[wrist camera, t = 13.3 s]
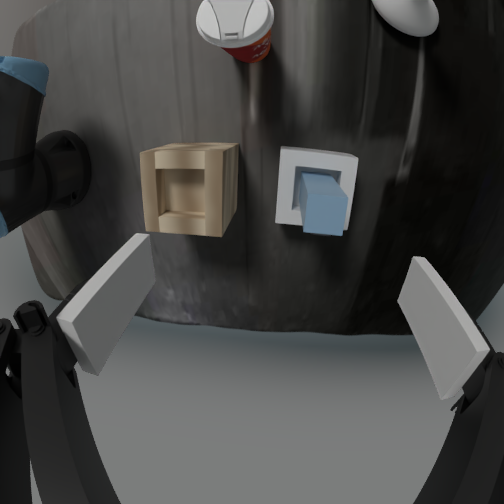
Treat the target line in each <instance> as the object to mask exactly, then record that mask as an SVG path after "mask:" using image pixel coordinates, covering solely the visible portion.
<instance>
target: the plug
mask: <svg viewBox="0 0 504 504" xmlns="http://www.w3.org/2000/svg"><path fill="white" fill-rule="evenodd" d="M299 204H300V211H301V218H302V225H303V232H308V233H312V235H322V236H331V235H338V236H342V234H343V228H344V223H345V217H346V211H347V205H348V197H347V195H346V194H345V193H344V191H343V190H342V189H341V187H340V186H339V185H338V184H337V182H336V181H335V180H334V178H333V177H332V176H331V175H330V174H324V173H316V172H307V171H301V181H300V191H299Z"/></svg>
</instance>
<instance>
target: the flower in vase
mask: <svg viewBox="0 0 504 504" xmlns="http://www.w3.org/2000/svg"><path fill="white" fill-rule="evenodd" d="M372 3H373V5H374V7H375V8H376V10H377V11H378V13H379V14H380V15H381V16H382V17H383V19H385V20H386V21H387V22H388V23H389V24H390V25H392V26H393V27H394V28H396V29H398V30H399V31H401V32H403V33H406V34H409V35H412V36H417V37H423V36H428V35H430V34H432V33H433V32H434V31H435V30H436V28H437V26H438V22H439V15H438V11H437V8H436V6H435V4H434V2H433V1H432V0H372Z"/></svg>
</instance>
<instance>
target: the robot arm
mask: <svg viewBox="0 0 504 504" xmlns="http://www.w3.org/2000/svg"><path fill="white" fill-rule="evenodd" d="M48 76H49V69H48V67H47V66H46V65H45V64H44V63H42V62H39V61H35V60H30V59H25V58H19V57H10V56H9V57H8V56H6V57H5V56H0V238H1V237H3V236H6V235H7V234H8V233H9V232H11V231H12V230H14V229H15V228H17V227H18V226H20V225H22V224H23V223H25V222H26V221H28V220H30V219H31V218H33V217H35V216H36V215H38V214H40V213H42V212H43V211H49V210H62V209H67V208H70V207H72V206H73V205H75V204H77V203H78V202H80V201H81V200H82V199H83V197H84V196H85V194H86V192H87V190H88V187H89V184H90V178H91V165H90V159H89V155H88V152H87V149H86V147H85V145H84V143H83V142H82V140H81V139H80V138H79V137H78V136H77V135H76V134H74V133H73V132H71V131H67V130H62V131H57V132H53V133H50V134H48V135H47V136H45V137H44V138H42V139H41V140H40V141H38V142H37V143H36V138H37V131H38V125H39V120H40V114H41V109H42V105H43V100H44V97H45V96H46V92H45V90H46V85H47V81H48ZM155 282H156V278H155V271H154V265H153V258H152V251H151V243H150V235H149V234H139V233H136V234H135V235H134V236H133V237H132V238H131V239H130V240H129V241H128V242H126V243H125V244H124V245H123V246H122V247H121V248H120V249H119V250H118V251H117V252H116V253H115V254H114V255H113V256H112V257H111V258H110V259H109V260H108V261H107V262H106V263H105V264H104V265H103V266H102V267H101V268H100V269H99V270H98V272H97V273H96V274H95V275H94V276H93V277H92V278H91V279H90V280H85V281H84V282H82V283H80V284H79V285H77V286H76V287H75V288H74V289H73V290H72V292H71V294H69V295H68V296H67V297H66V298H65V300H63V301H62V303H61V304H60V305H59V306H58V307H57V308H56V309H55V310H54V311H53V313H52V314H51V315H50V316H49V317H47V314H46V312H45V310H44V307H43V305H42V303H40V302H39V301H35V300H34V301H28V302H26V303H24V304H22V305H21V306H19V307H18V308H17V310H16V311H15V313H14V315H13V317H14V319H15V321H16V322H17V325H18V326H19V328H20V329H14V327H13V326H12V323H11V322H10V320H8V319H5V318H3V319H0V504H32V494H31V480H30V460H31V464H32V469H33V473H34V477H35V481H36V484H37V487H38V491H39V495H40V498H41V501H42V504H121V503H120V501H119V499H118V497H117V495H116V493H115V491H114V489H113V486H112V484H111V482H110V480H109V477H108V475H107V473H106V470H105V468H104V465H103V463H102V460H101V458H100V455H99V452H98V450H97V447H96V444H95V441H94V438H93V435H92V432H91V429H90V425H89V422H88V419H87V415H86V412H85V408H84V404H83V400H82V396H81V392H80V388H79V383H78V379H77V373H76V371H75V369H74V365H75V364H76V362H77V361H78V363H79V365H80V366H81V368H82V370H83V371H85V372H88V373H91V374H94V375H97V376H98V375H99V373H100V372H101V370H102V368H103V366H104V365H105V363H106V361H107V359H108V358H109V356H110V354H111V352H112V351H113V349H114V347H115V346H116V344H117V342H118V341H119V339H120V337H121V336H122V334H123V332H124V331H125V329H126V328H127V326H128V324H129V323H130V321H131V319H132V318H133V316H134V315H135V313H136V311H137V310H138V308H139V307H140V305H141V304H142V302H143V300H144V299H145V297H146V296H147V294H148V293H149V291H150V290H151V288H152V287H153V285H154V284H155ZM398 303H399V305H400V307H401V309H402V311H403V313H404V315H405V317H406V319H407V321H408V323H409V325H410V327H411V329H412V332H413V334H414V336H415V338H416V340H417V343H418V345H419V347H420V349H421V352H422V354H423V356H424V358H425V361H426V363H427V366H428V368H429V371H430V373H431V376H432V378H433V381H434V383H435V386H436V389H437V391H438V394H439V397H440V400H442V399H447V398H451V397H454V396H455V395H456V394H457V393H458V392H459V390H460V389H461V388H463V391H464V394H463V395H462V396H461V398H460V399H459V400H458V401H457V402H456V403H455V404H454V406H453V407H452V408H451V411H453V409H455V407H457V406H458V407H457V410H456V411H455V416H454V419H453V422H452V425H451V427H450V430H449V433H448V435H447V438H446V440H445V442H444V445H443V447H442V449H441V452H440V454H439V456H438V458H437V460H436V463H435V465H434V467H433V469H432V471H431V473H430V475H429V477H428V479H427V480H426V482H425V484H424V486H423V488H422V490H421V492H420V493H419V495H418V497H417V498H416V500H415V502H414V503H413V504H504V353H502V352H497V353H496V352H495V351H494V349H493V347H492V346H491V344H490V342H489V341H488V339H487V337H486V336H485V334H484V333H483V332H482V330H481V328H480V327H479V325H477V322H476V321H475V319H474V318H473V316H472V315H471V314H470V313H469V312H467V311H466V310H465V309H464V308H463V307H462V305H461V304H460V302H459V301H458V300H457V298H456V297H455V295H454V294H453V293H452V291H451V290H450V289H449V287H448V286H447V285H446V283H445V282H444V281H443V280H442V278H441V277H440V276H439V274H438V273H437V272H436V271H435V269H434V268H433V267H432V266H431V264H430V263H429V262H428V261H427V260H426V258H424V257H414V256H413V258H412V262H411V265H410V268H409V271H408V274H407V276H406V279H405V282H404V285H403V288H402V290H401V293H400V296H399V298H398ZM7 367H8V369H9V370H10V374H9V376H7V374H6V368H7Z"/></svg>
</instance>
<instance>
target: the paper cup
mask: <svg viewBox="0 0 504 504" xmlns="http://www.w3.org/2000/svg"><path fill="white" fill-rule="evenodd" d="M273 20H274V10H273V7H272V5H271V3H270V1H269V0H204V1H203V2H202V3H201V5H200V7H199V10H198V13H197V18H196V25H197V29H198V31H199V33H200V34H201V36H202V37H203V38H204V39H205V40H206V41H208V42H209V43H211V44H213V45H216V46H219V47H221V48H222V49H224V50H225V51H226V52H228V53H229V54H230V55H232V56H233V57H235V58H236V59H238V60H240V61H242V62H246V63H254V62H257V61H260V60H262V59H263V58H264V57H265V56H266V55H267V54H268V52H269V50H270V44H271V26H272V23H273Z"/></svg>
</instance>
